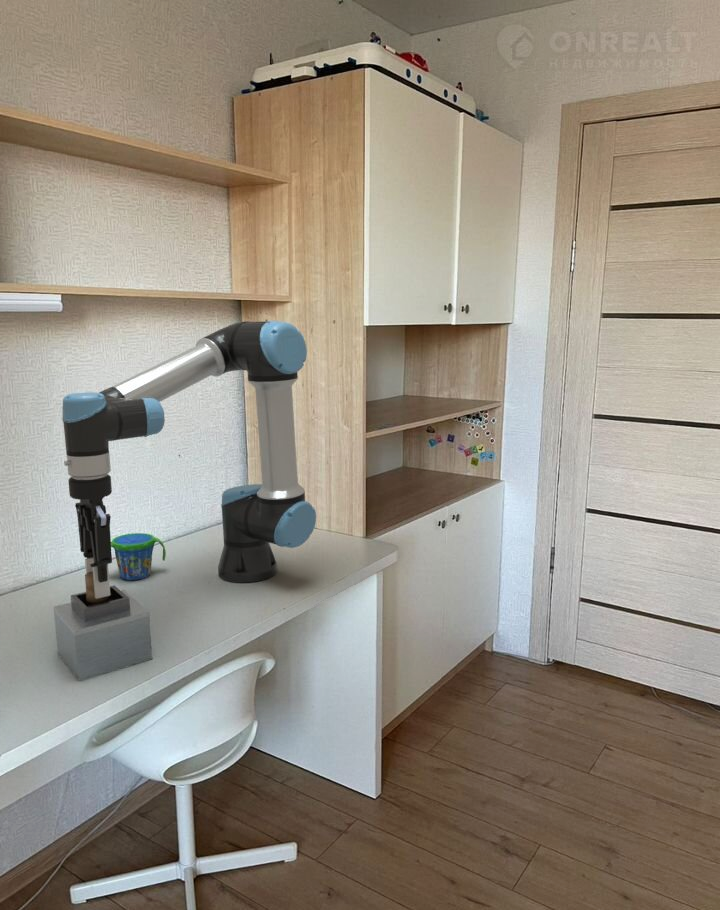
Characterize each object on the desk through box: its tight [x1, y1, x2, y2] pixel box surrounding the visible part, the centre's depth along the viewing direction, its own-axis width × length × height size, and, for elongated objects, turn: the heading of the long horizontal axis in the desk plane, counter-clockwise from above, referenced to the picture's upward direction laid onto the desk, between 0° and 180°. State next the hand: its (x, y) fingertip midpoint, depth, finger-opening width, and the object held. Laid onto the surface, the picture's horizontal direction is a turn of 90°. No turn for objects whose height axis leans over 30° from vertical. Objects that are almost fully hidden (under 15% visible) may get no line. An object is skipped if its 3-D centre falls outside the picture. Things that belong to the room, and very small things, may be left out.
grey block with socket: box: [53, 584, 153, 682], centre depth 140 cm, size 14×14×12 cm
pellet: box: [84, 572, 108, 603], centre depth 138 cm, size 4×4×5 cm
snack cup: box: [111, 532, 167, 581], centre depth 184 cm, size 16×10×10 cm
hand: (98, 592), depth 139 cm, fingers closed on pellet, 4 cm apart
